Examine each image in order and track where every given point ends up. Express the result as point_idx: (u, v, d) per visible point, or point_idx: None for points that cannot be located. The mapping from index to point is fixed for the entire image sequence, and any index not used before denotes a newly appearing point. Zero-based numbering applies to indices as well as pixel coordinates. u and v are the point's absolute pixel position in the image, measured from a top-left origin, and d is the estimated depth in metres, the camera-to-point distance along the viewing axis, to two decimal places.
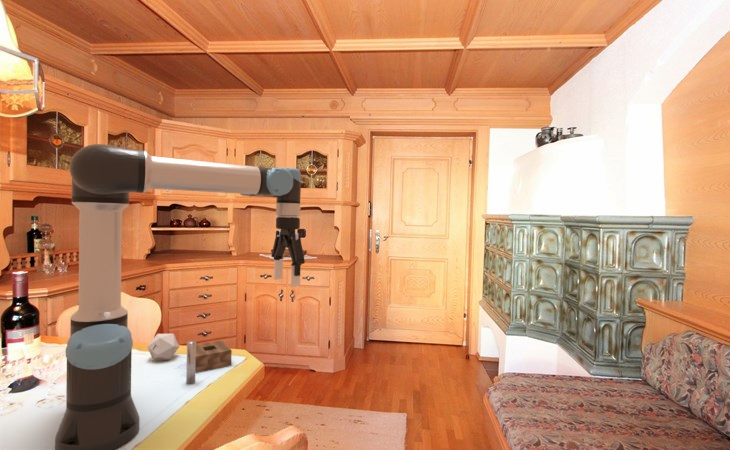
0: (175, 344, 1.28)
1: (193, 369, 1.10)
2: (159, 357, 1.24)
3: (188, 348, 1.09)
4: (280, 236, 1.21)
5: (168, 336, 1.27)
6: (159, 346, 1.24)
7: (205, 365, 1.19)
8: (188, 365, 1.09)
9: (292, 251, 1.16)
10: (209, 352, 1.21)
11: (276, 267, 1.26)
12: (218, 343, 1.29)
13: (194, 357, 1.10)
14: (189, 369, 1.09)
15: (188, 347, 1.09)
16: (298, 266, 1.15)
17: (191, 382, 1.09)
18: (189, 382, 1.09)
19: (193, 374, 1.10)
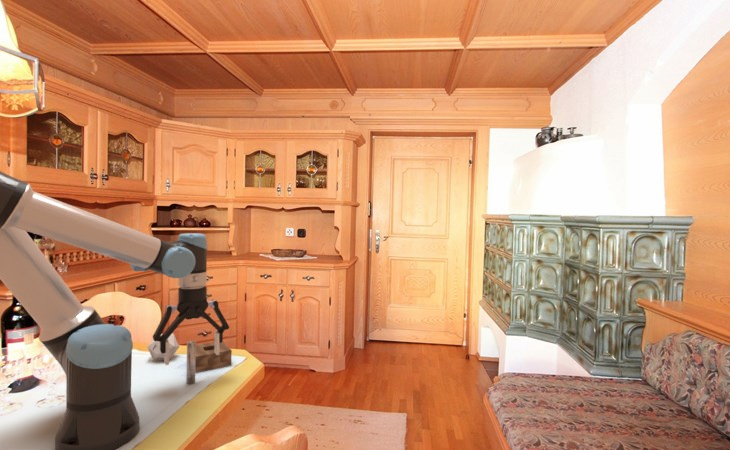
0: (175, 344, 1.28)
1: (193, 369, 1.10)
2: (159, 357, 1.24)
3: (188, 348, 1.09)
4: None
5: None
6: (159, 346, 1.24)
7: (205, 365, 1.19)
8: (188, 365, 1.09)
9: None
10: (209, 352, 1.21)
11: (214, 339, 1.15)
12: None
13: (194, 357, 1.10)
14: (189, 369, 1.09)
15: (188, 347, 1.09)
16: (160, 342, 1.05)
17: (191, 382, 1.09)
18: (189, 382, 1.09)
19: (193, 374, 1.10)
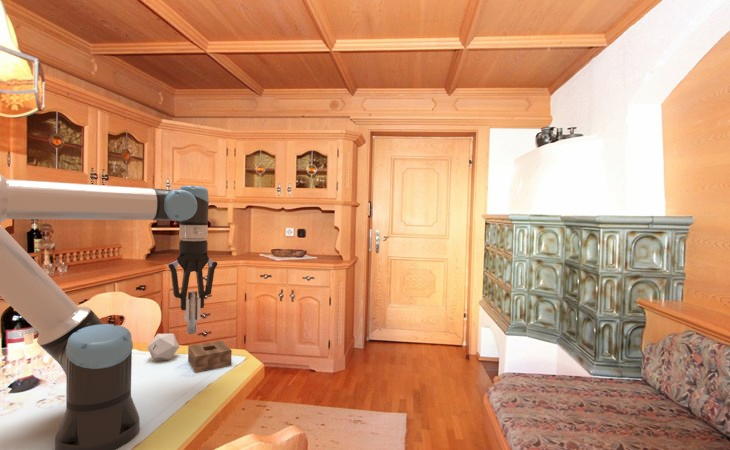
0: (175, 344, 1.28)
1: (194, 319, 1.09)
2: (159, 357, 1.24)
3: (189, 298, 1.09)
4: None
5: (168, 336, 1.27)
6: (159, 346, 1.24)
7: (205, 365, 1.19)
8: (189, 314, 1.09)
9: (182, 282, 1.09)
10: (209, 352, 1.21)
11: None
12: (218, 343, 1.29)
13: (195, 307, 1.10)
14: (190, 319, 1.09)
15: (189, 297, 1.09)
16: (181, 299, 1.08)
17: (192, 332, 1.09)
18: (190, 332, 1.09)
19: (194, 324, 1.09)
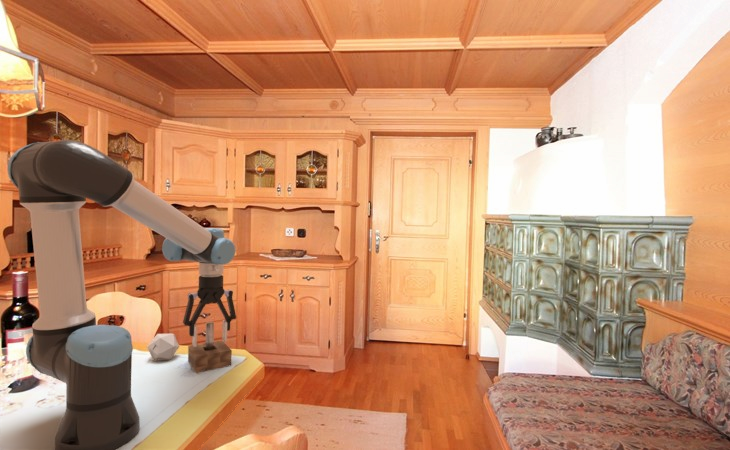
0: (175, 344, 1.28)
1: (211, 346, 1.24)
2: (159, 357, 1.24)
3: (207, 328, 1.23)
4: None
5: (168, 336, 1.27)
6: (159, 346, 1.24)
7: (205, 365, 1.19)
8: (207, 343, 1.23)
9: (195, 311, 1.22)
10: (209, 352, 1.21)
11: (223, 328, 1.28)
12: (218, 343, 1.29)
13: (212, 336, 1.24)
14: (208, 347, 1.23)
15: (207, 327, 1.23)
16: (189, 327, 1.21)
17: None
18: None
19: None
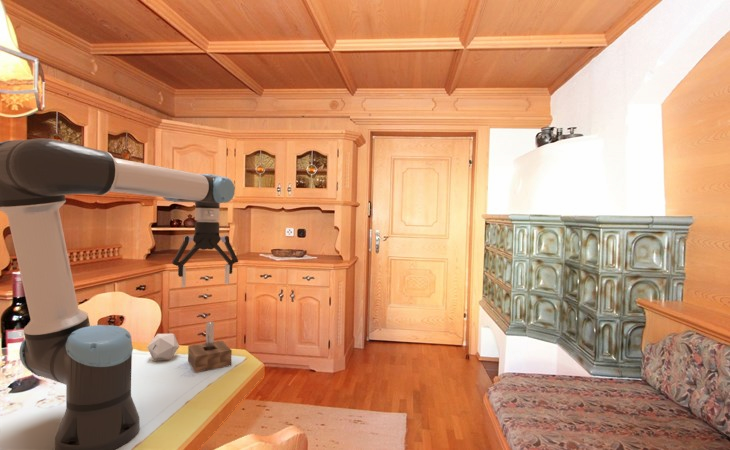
0: (175, 344, 1.28)
1: (211, 346, 1.24)
2: (159, 357, 1.24)
3: (207, 328, 1.23)
4: None
5: (168, 336, 1.27)
6: (159, 346, 1.24)
7: (205, 365, 1.19)
8: (207, 342, 1.23)
9: (187, 253, 1.23)
10: (209, 352, 1.21)
11: (225, 271, 1.30)
12: (218, 343, 1.29)
13: (212, 336, 1.24)
14: (208, 346, 1.23)
15: (207, 327, 1.23)
16: (178, 267, 1.21)
17: None
18: None
19: None
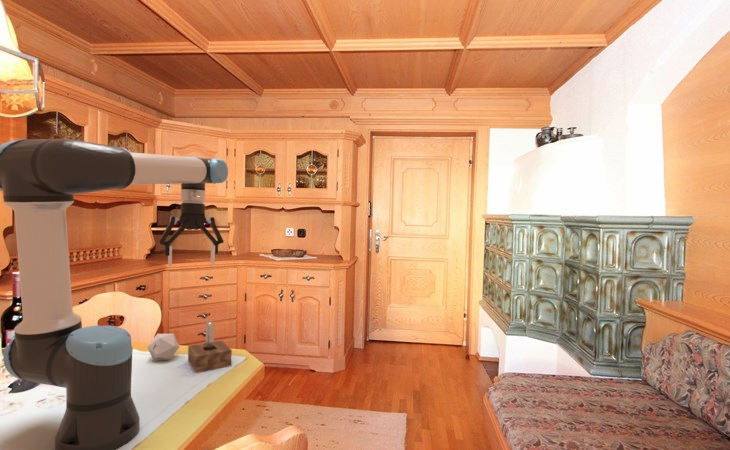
0: (175, 344, 1.28)
1: (211, 346, 1.24)
2: (159, 357, 1.24)
3: (207, 328, 1.23)
4: None
5: (168, 336, 1.27)
6: (159, 346, 1.24)
7: (205, 365, 1.19)
8: (207, 342, 1.23)
9: (174, 233, 1.27)
10: (209, 352, 1.21)
11: (211, 251, 1.34)
12: (218, 343, 1.29)
13: (212, 336, 1.24)
14: (208, 346, 1.23)
15: (207, 327, 1.23)
16: (165, 246, 1.25)
17: None
18: None
19: None
